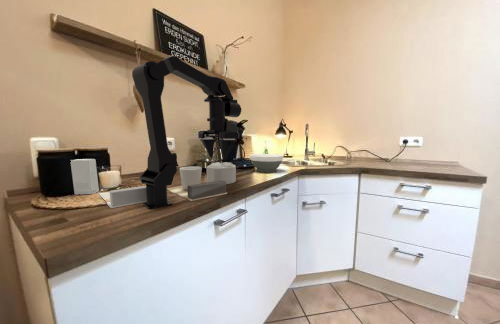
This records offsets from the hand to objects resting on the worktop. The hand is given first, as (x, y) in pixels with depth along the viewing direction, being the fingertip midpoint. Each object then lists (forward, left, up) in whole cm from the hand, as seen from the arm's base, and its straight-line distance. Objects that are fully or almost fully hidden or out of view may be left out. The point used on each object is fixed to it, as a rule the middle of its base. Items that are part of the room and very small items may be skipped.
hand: (217, 158), depth 83 cm
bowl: (+20, -47, -12) cm, 53 cm away
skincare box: (+26, +38, -12) cm, 48 cm away
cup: (+8, +8, -12) cm, 16 cm away
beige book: (+3, +8, -12) cm, 15 cm away
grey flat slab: (+11, +28, -12) cm, 32 cm away
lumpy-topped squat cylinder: (+11, -10, -12) cm, 19 cm away
